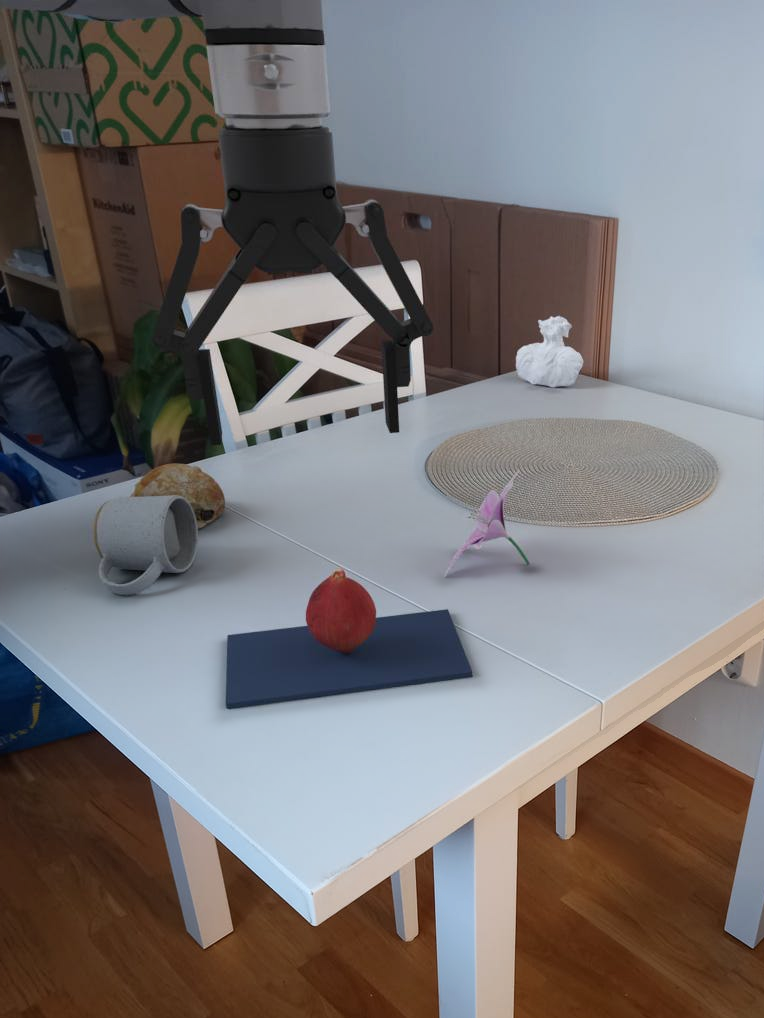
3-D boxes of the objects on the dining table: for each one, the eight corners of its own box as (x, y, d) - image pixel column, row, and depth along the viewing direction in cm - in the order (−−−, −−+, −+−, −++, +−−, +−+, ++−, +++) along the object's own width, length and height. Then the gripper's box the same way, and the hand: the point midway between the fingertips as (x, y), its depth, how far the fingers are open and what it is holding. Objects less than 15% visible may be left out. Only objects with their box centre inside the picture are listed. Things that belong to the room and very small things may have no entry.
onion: (307, 671, 77) (295, 586, 73) (315, 636, 82) (305, 554, 78) (376, 669, 77) (369, 584, 73) (380, 634, 82) (374, 552, 78)
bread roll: (170, 568, 103) (180, 514, 98) (106, 515, 105) (112, 459, 100) (234, 535, 110) (247, 483, 105) (173, 486, 112) (182, 433, 107)
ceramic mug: (131, 548, 99) (115, 481, 95) (204, 552, 98) (191, 484, 94) (82, 597, 90) (62, 525, 86) (161, 601, 89) (145, 528, 85)
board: (226, 709, 73) (225, 703, 73) (228, 639, 82) (227, 634, 82) (472, 676, 77) (472, 671, 77) (448, 613, 86) (447, 608, 86)
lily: (502, 537, 103) (457, 468, 98) (586, 523, 94) (542, 447, 90) (448, 610, 96) (398, 539, 92) (534, 602, 88) (483, 523, 83)
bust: (582, 400, 151) (603, 335, 151) (567, 380, 144) (589, 313, 144) (518, 390, 156) (539, 327, 157) (501, 370, 149) (522, 305, 150)
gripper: (66, 127, 56) (134, 461, 67) (469, 123, 60) (471, 437, 71) (85, 122, 62) (144, 429, 73) (449, 119, 67) (453, 408, 78)
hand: (306, 433), depth 72 cm, fingers open, 13 cm apart
